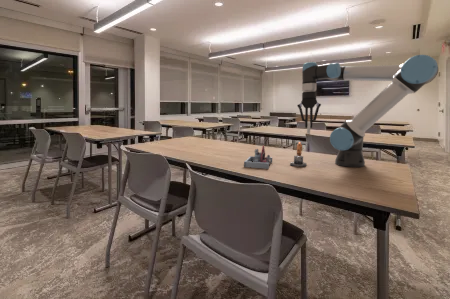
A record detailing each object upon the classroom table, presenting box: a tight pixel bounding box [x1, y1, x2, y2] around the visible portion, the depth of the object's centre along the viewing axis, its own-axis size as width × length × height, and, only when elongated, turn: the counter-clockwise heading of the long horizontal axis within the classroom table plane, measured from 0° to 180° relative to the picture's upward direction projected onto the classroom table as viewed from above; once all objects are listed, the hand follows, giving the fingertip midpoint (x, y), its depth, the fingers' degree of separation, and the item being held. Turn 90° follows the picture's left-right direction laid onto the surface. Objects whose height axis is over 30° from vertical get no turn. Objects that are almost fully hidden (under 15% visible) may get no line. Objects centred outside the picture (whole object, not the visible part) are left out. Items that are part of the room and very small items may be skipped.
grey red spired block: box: [253, 145, 272, 165], centre depth 146 cm, size 11×11×12 cm
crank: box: [293, 142, 304, 164], centre depth 146 cm, size 13×5×10 cm, turn 162°
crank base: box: [289, 161, 307, 168], centre depth 144 cm, size 9×9×1 cm
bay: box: [243, 155, 273, 170], centre depth 145 cm, size 14×16×3 cm
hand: (308, 133), depth 145 cm, fingers closed
